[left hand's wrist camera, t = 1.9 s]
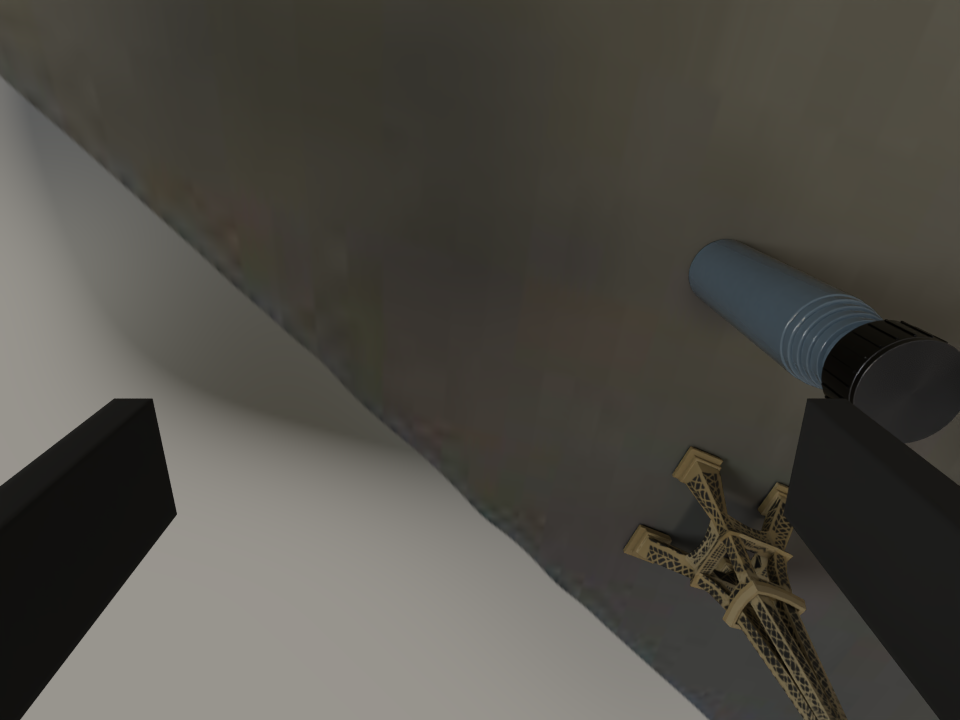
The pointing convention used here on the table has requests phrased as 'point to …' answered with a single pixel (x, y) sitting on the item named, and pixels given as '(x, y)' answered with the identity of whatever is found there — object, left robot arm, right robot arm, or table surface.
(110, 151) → the table surface
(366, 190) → the table surface
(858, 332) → the cap
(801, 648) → the eiffel tower
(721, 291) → the bottle
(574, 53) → the table surface
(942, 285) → the table surface
